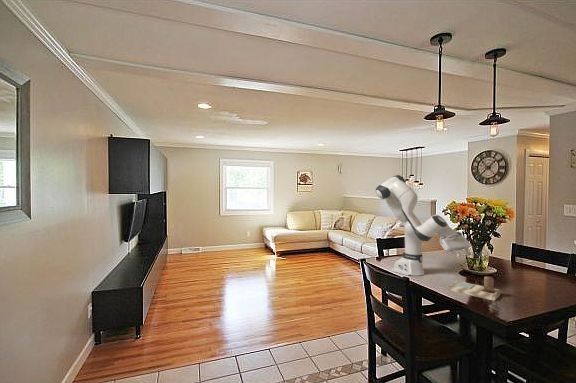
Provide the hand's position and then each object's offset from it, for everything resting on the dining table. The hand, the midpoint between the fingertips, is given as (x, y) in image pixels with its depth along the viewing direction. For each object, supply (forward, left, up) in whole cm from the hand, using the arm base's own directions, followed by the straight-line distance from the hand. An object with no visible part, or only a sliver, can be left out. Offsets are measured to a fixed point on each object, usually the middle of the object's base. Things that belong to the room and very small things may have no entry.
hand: (464, 255), depth 166 cm
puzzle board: (+5, -2, -20) cm, 21 cm away
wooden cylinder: (+12, -2, -20) cm, 24 cm away
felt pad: (0, -2, -18) cm, 18 cm away
